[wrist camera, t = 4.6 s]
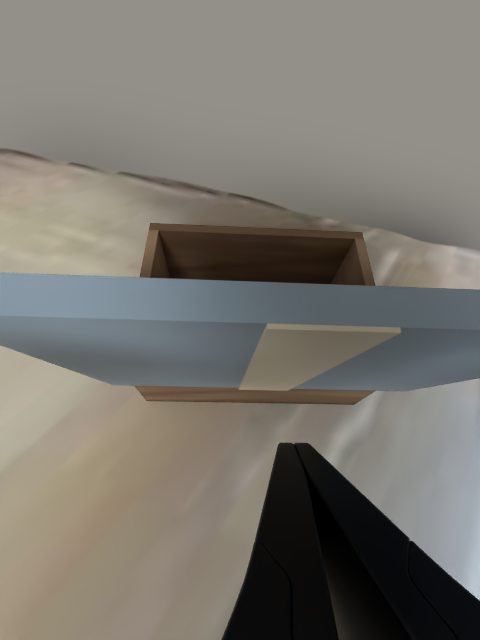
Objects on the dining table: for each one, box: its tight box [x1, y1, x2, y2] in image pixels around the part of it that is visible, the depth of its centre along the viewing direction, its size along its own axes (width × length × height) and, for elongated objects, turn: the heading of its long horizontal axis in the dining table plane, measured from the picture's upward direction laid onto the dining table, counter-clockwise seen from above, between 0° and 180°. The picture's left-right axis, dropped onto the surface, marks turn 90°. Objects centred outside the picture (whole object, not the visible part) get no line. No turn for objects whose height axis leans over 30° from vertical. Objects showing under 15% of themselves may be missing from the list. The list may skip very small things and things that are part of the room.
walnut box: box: [135, 223, 376, 405], centre depth 21 cm, size 10×14×6 cm
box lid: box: [0, 273, 480, 391], centre depth 10 cm, size 10×14×1 cm
